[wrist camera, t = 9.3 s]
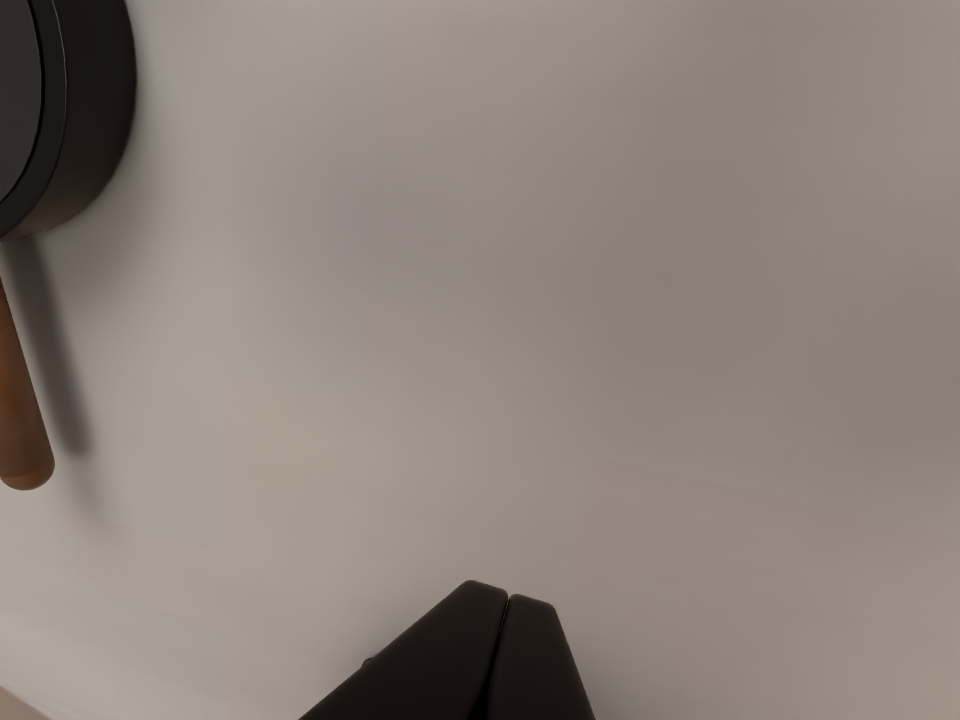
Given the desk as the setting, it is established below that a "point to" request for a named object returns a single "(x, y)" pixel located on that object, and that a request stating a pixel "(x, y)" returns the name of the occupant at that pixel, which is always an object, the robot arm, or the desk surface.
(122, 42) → the pan
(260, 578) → the desk surface
